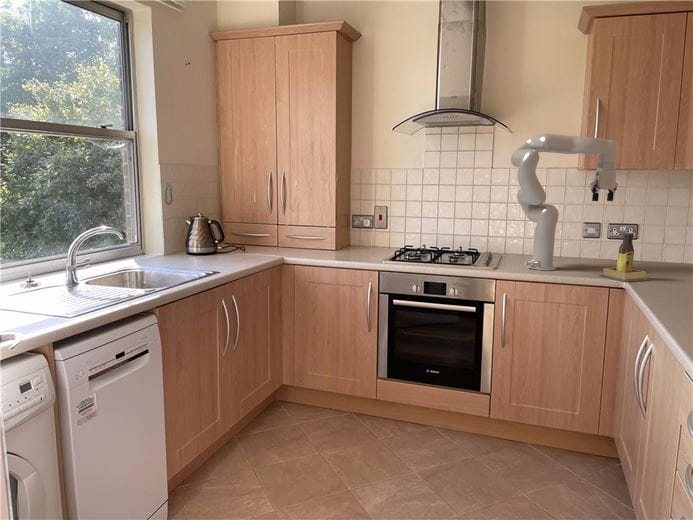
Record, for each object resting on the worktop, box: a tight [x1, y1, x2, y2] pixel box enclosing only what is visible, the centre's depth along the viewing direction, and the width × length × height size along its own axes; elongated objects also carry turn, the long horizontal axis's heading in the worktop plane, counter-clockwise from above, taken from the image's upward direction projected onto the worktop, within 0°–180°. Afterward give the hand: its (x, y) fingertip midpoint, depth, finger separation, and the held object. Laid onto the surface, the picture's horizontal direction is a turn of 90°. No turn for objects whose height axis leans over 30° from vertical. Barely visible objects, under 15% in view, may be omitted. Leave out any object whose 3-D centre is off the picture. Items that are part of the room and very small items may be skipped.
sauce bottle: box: [616, 232, 635, 273], centre depth 236 cm, size 6×6×20 cm
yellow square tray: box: [599, 267, 650, 283], centre depth 237 cm, size 14×14×4 cm
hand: (602, 201), depth 259 cm, fingers open, 9 cm apart
